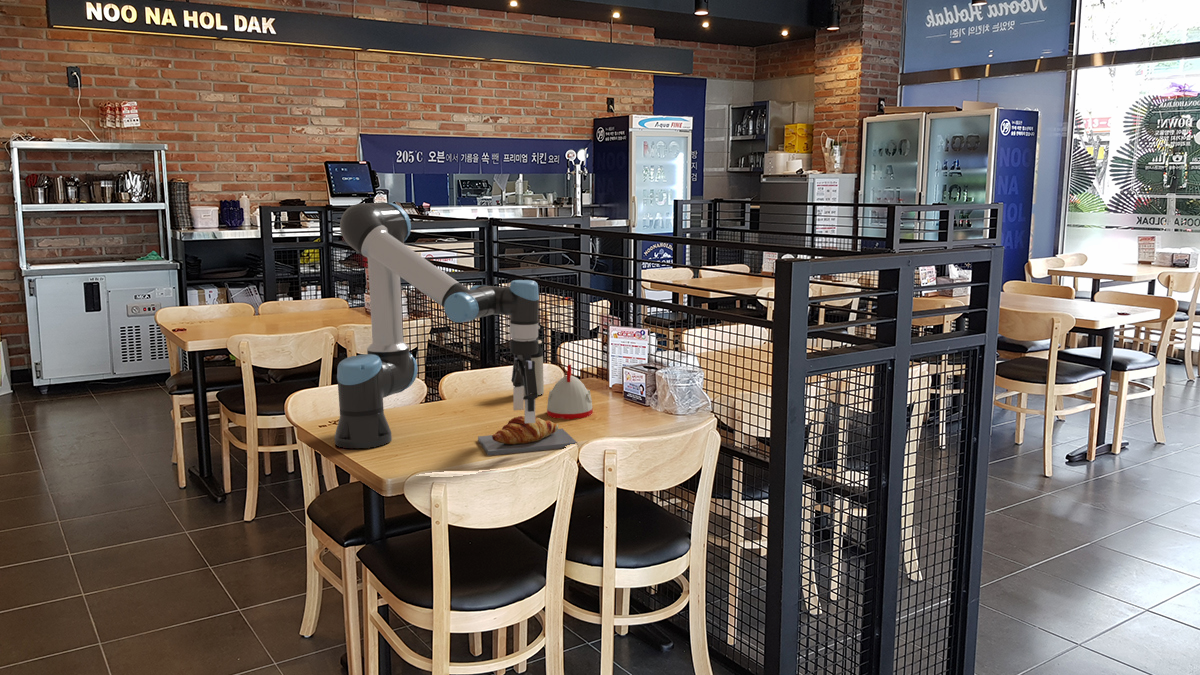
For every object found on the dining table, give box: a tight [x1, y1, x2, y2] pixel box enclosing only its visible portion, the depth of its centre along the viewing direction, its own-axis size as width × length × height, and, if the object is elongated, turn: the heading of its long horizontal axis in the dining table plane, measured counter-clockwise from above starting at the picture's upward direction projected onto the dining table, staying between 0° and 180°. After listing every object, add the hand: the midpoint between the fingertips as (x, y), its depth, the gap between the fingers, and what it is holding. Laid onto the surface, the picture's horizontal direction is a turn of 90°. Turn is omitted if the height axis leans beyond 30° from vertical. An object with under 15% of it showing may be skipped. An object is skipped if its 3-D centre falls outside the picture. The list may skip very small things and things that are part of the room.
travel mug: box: [523, 339, 545, 396], centre depth 304 cm, size 8×8×18 cm
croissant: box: [491, 415, 559, 444], centre depth 247 cm, size 21×10×8 cm, turn 131°
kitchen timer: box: [546, 364, 594, 420], centre depth 278 cm, size 14×14×15 cm
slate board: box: [477, 428, 578, 457], centre depth 247 cm, size 24×15×2 cm, turn 108°
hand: (524, 416), depth 246 cm, fingers open, 13 cm apart
